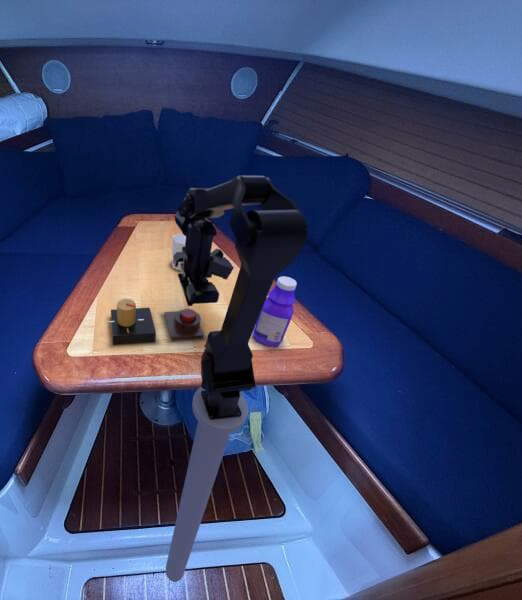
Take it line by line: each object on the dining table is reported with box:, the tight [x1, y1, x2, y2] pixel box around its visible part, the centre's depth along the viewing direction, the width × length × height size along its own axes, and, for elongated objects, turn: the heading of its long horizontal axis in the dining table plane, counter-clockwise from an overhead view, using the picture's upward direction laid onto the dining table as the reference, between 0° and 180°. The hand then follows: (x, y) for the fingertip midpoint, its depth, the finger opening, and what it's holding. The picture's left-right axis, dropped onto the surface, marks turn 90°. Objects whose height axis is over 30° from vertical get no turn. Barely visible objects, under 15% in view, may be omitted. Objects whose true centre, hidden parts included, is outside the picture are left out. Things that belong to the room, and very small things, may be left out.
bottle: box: [252, 275, 298, 348], centre depth 75 cm, size 7×6×17 cm
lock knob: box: [116, 298, 137, 327], centre depth 76 cm, size 4×4×5 cm
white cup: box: [171, 233, 186, 272], centre depth 105 cm, size 8×8×10 cm
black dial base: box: [107, 307, 157, 346], centre depth 79 cm, size 10×11×3 cm
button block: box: [163, 309, 205, 342], centre depth 81 cm, size 10×8×3 cm
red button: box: [181, 308, 197, 323], centre depth 80 cm, size 4×4×2 cm
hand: (189, 305), depth 78 cm, fingers closed
